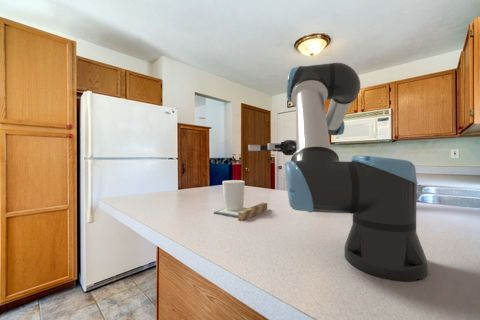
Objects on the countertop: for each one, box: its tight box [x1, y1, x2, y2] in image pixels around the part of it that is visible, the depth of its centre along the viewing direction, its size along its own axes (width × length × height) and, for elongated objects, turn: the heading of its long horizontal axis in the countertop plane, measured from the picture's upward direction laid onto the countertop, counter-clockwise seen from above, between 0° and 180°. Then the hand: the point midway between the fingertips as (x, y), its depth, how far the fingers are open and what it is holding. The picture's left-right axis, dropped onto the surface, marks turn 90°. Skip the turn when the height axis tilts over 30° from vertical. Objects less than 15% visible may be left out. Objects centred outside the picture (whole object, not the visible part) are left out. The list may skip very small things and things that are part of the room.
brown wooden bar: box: [237, 202, 268, 222], centre depth 89 cm, size 20×2×3 cm, turn 146°
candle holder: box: [222, 179, 246, 211], centre depth 96 cm, size 10×10×12 cm
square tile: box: [213, 207, 249, 219], centre depth 93 cm, size 13×13×1 cm
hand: (257, 147), depth 97 cm, fingers open, 13 cm apart
